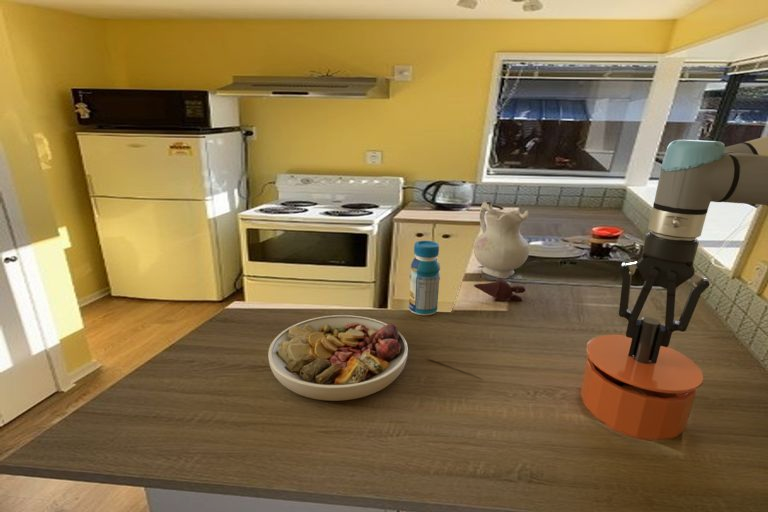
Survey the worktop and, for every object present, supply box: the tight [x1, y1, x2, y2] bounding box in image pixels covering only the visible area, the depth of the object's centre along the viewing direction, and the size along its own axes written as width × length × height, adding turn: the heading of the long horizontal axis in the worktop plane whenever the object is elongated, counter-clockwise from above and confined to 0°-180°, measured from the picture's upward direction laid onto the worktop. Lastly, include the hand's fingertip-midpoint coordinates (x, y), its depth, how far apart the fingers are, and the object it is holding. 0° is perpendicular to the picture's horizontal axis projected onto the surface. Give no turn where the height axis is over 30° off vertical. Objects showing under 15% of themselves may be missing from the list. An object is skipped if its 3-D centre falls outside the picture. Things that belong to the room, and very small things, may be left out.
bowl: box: [267, 314, 409, 402], centre depth 93 cm, size 30×30×8 cm
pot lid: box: [585, 316, 704, 393], centre depth 78 cm, size 19×19×9 cm
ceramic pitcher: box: [473, 199, 531, 279], centre depth 151 cm, size 22×20×25 cm
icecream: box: [473, 278, 526, 302], centre depth 129 cm, size 7×7×15 cm
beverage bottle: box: [408, 240, 441, 316], centre depth 119 cm, size 8×8×20 cm
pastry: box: [619, 384, 658, 397], centre depth 82 cm, size 9×7×4 cm
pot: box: [579, 356, 697, 442], centre depth 81 cm, size 18×18×8 cm
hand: (642, 356), depth 79 cm, fingers closed on pot lid, 3 cm apart
